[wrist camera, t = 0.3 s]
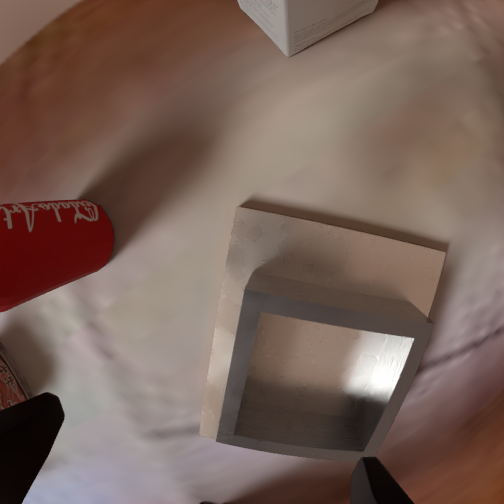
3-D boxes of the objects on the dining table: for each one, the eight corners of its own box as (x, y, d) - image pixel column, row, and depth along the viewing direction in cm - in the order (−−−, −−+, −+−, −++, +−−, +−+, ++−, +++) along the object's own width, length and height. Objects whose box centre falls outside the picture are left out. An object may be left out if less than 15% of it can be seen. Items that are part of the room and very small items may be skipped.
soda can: (122, 207, 21) (-9, 221, 10) (112, 280, 22) (-5, 341, 11) (65, 193, 22) (-61, 200, 10) (57, 261, 23) (-59, 301, 11)
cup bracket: (362, 452, 23) (372, 492, 18) (201, 427, 24) (186, 468, 19) (439, 250, 19) (476, 264, 15) (238, 206, 20) (223, 208, 16)
